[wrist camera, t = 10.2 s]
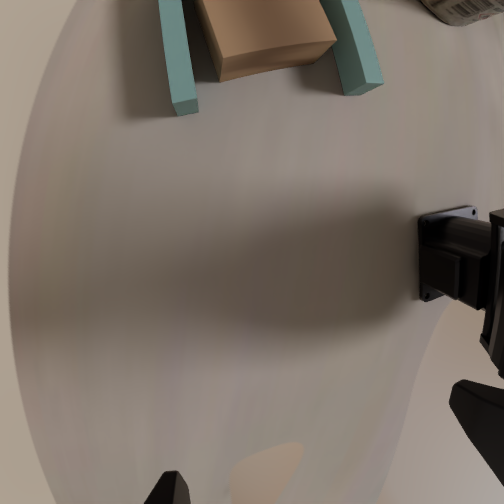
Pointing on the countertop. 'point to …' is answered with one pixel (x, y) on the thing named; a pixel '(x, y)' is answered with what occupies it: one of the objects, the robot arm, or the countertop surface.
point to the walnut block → (263, 34)
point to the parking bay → (345, 48)
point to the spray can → (464, 10)
